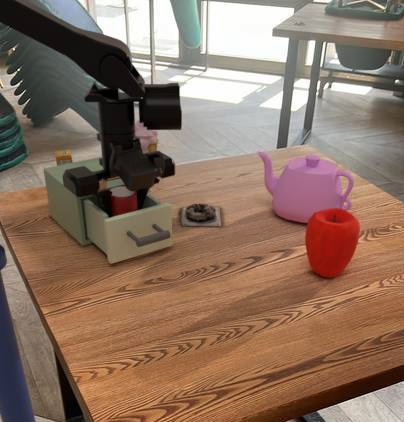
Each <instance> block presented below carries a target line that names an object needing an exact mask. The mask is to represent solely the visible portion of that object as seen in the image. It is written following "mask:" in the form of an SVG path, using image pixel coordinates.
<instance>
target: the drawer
mask: <svg viewBox="0 0 404 422" xmlns="http://www.w3.org/2000/svg"><path fill="white" fill-rule="evenodd" d="M81 203H82V211H83V220H84V228H85V235H86V236H87V237H88V238H89V239H90V240H91V241H92V242H93V243H92V244H94V245H95V246H96V247H98V248H99V249H100V250H101V251H103V253H105V255H106V257H107V262H108V263H109V264H110V265H112V264H116V263H118V262H123V261H125V260H129V259H132V258H135V257H139V256H142V255H145V254H148V253H153V252H156V251H159V250H162V249H165V248H168V247H169V248H170V247H171V246H173V215H172V214H173V212H172V211H173V208H172V207H173V205H172V204H171V203H170V202H165V203H162V202H161V201H160V200H159V199H157V198H156V197H155V196H154V195H152V194H150V192H148V193H147V196H146V198H145V201H144V204H143V207H142V209H141V210H137V211H134V212H130V213H126V214H122V215H118V216H114V217H110V218H108V215H107V214H106V213H105V212H103V211H102V210H101V208H100V206H99V204H98V202H97V200H96V199H95V197H94V196H91V197H87V198H83V199H81Z"/></svg>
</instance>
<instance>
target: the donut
mask: <svg viewBox="0 0 404 422" xmlns="http://www.w3.org/2000/svg"><path fill="white" fill-rule="evenodd" d="M221 219H222V218H221V209H220V207H219V206H215V207H214V206H212V205H211V204H208V203H203V202H202V203H199V202H198V203H192V204H190V205H188V206H182V208H181V220H180V221H181V225H182V226H183V227H222V224H221V223H222V222H221Z"/></svg>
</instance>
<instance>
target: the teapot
mask: <svg viewBox="0 0 404 422" xmlns="http://www.w3.org/2000/svg"><path fill="white" fill-rule="evenodd" d="M256 154H257V155H258V156H259V157H260V158H261V160H262V163H263V167H264V172H263V173H264V175H263V178H264V186H265V189H266V190H267V192H268V193H269V194H270V196H272V198H271V205H272V208H273V210H274V212H275V214H277V216H278V217H281V218H283V219H285V220H287V221H293V222H297V223H298V222H299V223H303V224H304V223H305V224H308V220H309V219H310V217H311V216H312V215H313V213H314V212H318V211H321V210H325V209H331V208H339V209H342V210H346V211H349V210H351V208H352V206H353V203H352V202H353V201H352V200H351V199H350V198H348V196H350V194H351V192H352V190H353V188H354V184H355V179H354V176H353V175H352V174H351V173H350V172H349V171H347V170H339V169H338V165H337V164H336V163H335V162H333V161H331V160H327V159H322V157H321V156H320V155H318V154H311V153H310V154H306V155H305V156H304V157H300V156H299V157H293V158H291V159H290V160H289V161H288V162H287V164H286V165H285V167H284V168H283V170H282V172H281V174H280V175H279V177H278V178H277V176H276V175H275V174H274V170H273V169H274V168H273V161H272V158H271V157H270V156H269V155H268V154H267V153H264V152H262V151H259V150H257V151H256ZM341 177H345V178H346V179H347V180H348V185H347V188H346V190H345V191H344V193H343V187H342V186H343V185H342V180H341ZM345 203H347V205H346V204H345Z"/></svg>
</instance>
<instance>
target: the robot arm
mask: <svg viewBox="0 0 404 422" xmlns="http://www.w3.org/2000/svg"><path fill="white" fill-rule="evenodd" d="M0 24H2V25H5V26H6V27H8V28H10V29H12V30H14V31H16V32H18V33H20V34H22V35H24V36H26V37H28V38H29V39H31V40H33V41H36V42H38V43H40V44H42V45H44V46H46V47H47V48H49V49H51V50H52V51H53V50H54V51H55V52H57V53H59V54H61V55H63V56H65V57H67V58H68V59H69V60H71V61H72V62H74V64H76V65H77V66H78V67H79V68H80V69H81V70H82V71H83V72H84V73H86V74H87V75H88V76H90V77H91V78H92V79H93V80H94V81H93V82H92V83H91V86H90V88H88V90H86V91H85V94H84V96H83V97H84V98H83V100H84V102H85V103H96V105H97V116H98V127H99V132H98V133H96V139H97V141H98V142H100V150H101V157H102V158H100V159H99V164H100V165H101V166H102V167H103V170H99V171H94V172H92V171H91V170H89V169H88V168H87V167H85V166H81V167H76V168H72V169H67V170H65V172H64V174H63V176H62V177H63V185H64V187H65V188H67V189H68V190H69V191H70V192H72V193H73V194H74V195H75V196H77V197H84V196H89V195H93V196H94V197H95V199H96V200H97V202H98V204H99V206H100V208H101V210H102V211H103V212H105V213H106V214H107V215H108V218H110V217H113V216H112V209H111V201H110V197H111V195H112V191H110V190H109V189H108V188H107V181H111V180H115V179H121V180H122V181H123V183H124V184H125V186H126V188H127V189H128V190H130V191H137V208H138V210H141V209H142V207H143V204H144V201H145V198H146V196H147V193H149V191H150V189H151V188H153V187H154V186H155V185H156V184H159V183H160V179H159V178H161V179H165V178H170V177H174V176H176V163H175V160H174V159H173V158H172V157H170V156H169V155H167V154H165V153H163V152H161V150H157V151H154V152H149V153H144V154H143V152H142V149H141V142H140V138H138V137H136V131H135V123H136V114H135V113H136V112H135V103H138V120H139V123H143V127H147V130H158V131H182V125H183V111H182V106H181V87H180V84H179V82H168V83H146V81H145V78H144V77H143V75H141V73H140V72H139V71H138V70H137V68H136V66H135V65H134V64H133V55H132V53H131V50H130V47H128V45H127V44H126V43H125V42H124V41H123V40H121V39H118V38H115V37H113V36H110V35H107V34H103V33H101V32H96V31H91V30H87V29H84V28H80V27H77V26H75V25H73V24H71V23H69V22H68V21H66V20H63V18H60V17H58V16H57V15H54V14H53V13H51V12H49V11H47V10H45V9H43V8H41V7H39V6H37V5H36V4H33V3H32V2H30V1H28V0H0ZM97 82H98V83H99V84H100V85H99V84H98V83H97ZM101 85H102V86H103V87H102V86H101Z"/></svg>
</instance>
